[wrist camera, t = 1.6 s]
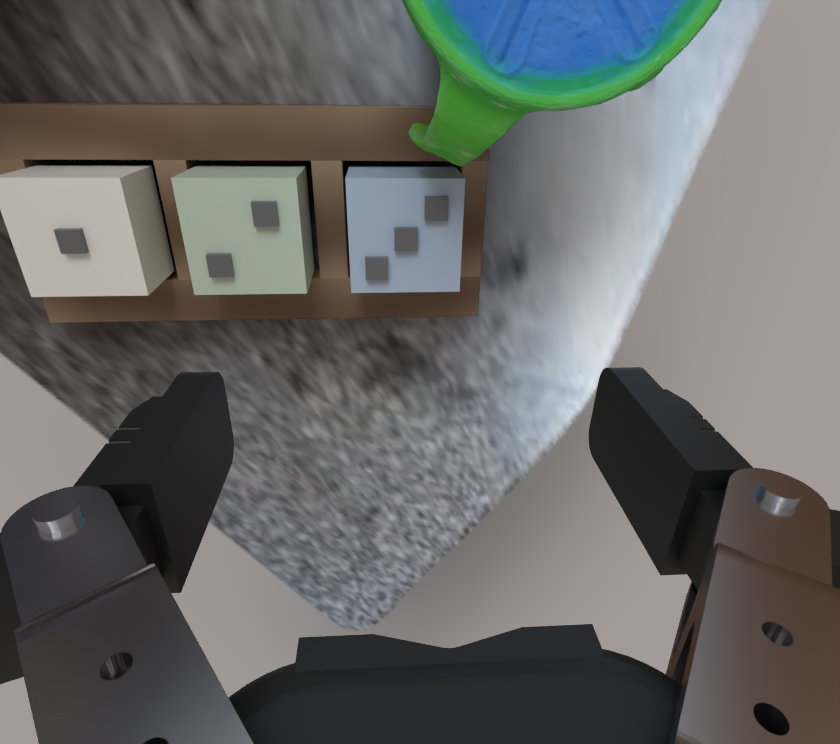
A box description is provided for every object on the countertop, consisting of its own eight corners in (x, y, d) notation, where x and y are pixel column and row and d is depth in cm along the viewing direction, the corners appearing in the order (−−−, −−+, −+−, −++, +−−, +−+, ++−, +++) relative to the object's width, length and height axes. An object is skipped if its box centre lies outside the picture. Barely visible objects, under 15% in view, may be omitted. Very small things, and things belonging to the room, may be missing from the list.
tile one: (38, 164, 24) (-16, 178, 21) (152, 165, 25) (116, 178, 21) (71, 271, 27) (27, 299, 23) (174, 270, 27) (145, 297, 24)
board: (3, 101, 24) (-26, 103, 22) (484, 106, 26) (491, 108, 24) (70, 308, 29) (50, 322, 27) (471, 302, 31) (477, 315, 29)
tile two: (196, 165, 25) (168, 178, 21) (306, 166, 25) (295, 179, 22) (215, 270, 27) (192, 297, 24) (314, 269, 27) (306, 295, 24)
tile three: (348, 166, 25) (344, 179, 22) (454, 166, 26) (466, 179, 22) (354, 269, 28) (350, 295, 24) (450, 268, 28) (460, 294, 25)
